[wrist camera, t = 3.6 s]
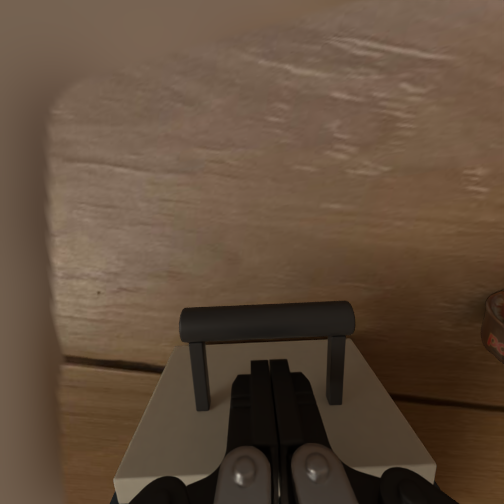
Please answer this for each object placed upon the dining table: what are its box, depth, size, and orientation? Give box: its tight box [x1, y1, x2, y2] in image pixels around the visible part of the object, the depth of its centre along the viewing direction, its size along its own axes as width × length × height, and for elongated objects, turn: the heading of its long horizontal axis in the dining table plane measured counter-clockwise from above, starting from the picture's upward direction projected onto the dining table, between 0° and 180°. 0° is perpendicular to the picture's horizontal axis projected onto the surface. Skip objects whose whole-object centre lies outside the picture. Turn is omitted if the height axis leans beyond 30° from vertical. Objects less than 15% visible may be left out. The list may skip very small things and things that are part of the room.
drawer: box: [114, 301, 437, 504], centre depth 14 cm, size 18×11×8 cm, turn 2°
